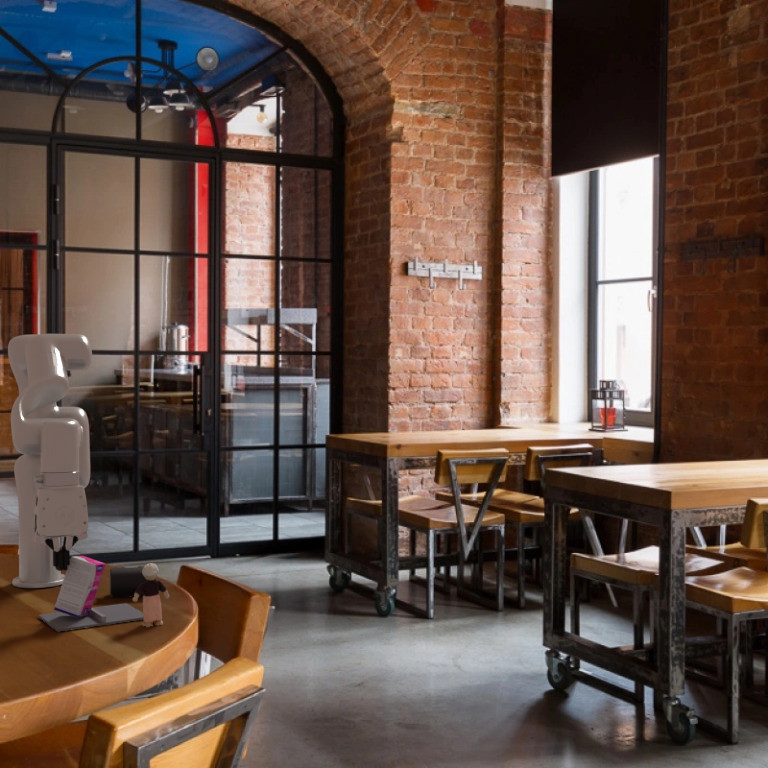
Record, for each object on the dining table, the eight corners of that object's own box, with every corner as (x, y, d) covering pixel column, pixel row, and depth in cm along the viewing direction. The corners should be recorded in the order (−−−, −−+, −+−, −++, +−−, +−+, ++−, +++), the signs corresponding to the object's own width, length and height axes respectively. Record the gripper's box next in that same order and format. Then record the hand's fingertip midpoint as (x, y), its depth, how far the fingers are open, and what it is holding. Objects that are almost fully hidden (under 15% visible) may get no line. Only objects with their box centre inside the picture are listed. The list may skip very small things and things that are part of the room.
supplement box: (78, 618, 217) (94, 564, 217) (52, 610, 218) (69, 555, 219) (90, 615, 222) (106, 562, 223) (65, 607, 223) (81, 554, 224)
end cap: (110, 601, 238) (110, 571, 238) (109, 594, 245) (108, 565, 244) (156, 598, 241) (155, 568, 241) (153, 591, 248) (153, 562, 247)
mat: (38, 617, 223) (38, 609, 223) (126, 605, 233) (126, 597, 233) (58, 632, 211) (58, 623, 211) (149, 619, 221) (149, 610, 221)
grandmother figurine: (161, 620, 221) (161, 559, 221) (171, 623, 218) (171, 562, 218) (128, 626, 216) (128, 564, 215) (139, 630, 213) (138, 567, 212)
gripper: (27, 483, 210) (28, 576, 210) (101, 479, 218) (103, 568, 218) (18, 481, 217) (19, 571, 217) (90, 477, 225) (91, 563, 225)
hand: (61, 569), depth 218 cm, fingers closed
